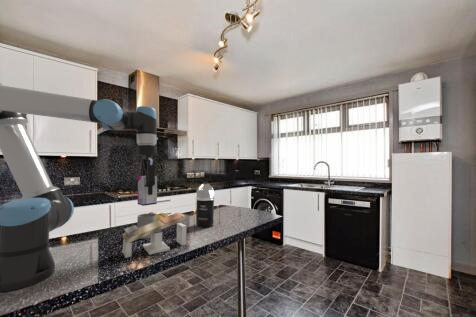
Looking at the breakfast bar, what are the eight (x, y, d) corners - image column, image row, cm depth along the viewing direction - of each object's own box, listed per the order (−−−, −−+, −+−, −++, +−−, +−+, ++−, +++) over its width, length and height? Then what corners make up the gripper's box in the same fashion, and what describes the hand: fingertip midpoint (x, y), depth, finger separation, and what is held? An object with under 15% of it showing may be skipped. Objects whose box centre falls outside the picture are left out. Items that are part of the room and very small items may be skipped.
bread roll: (168, 222, 133) (168, 209, 133) (174, 226, 125) (174, 211, 125) (146, 225, 125) (146, 211, 125) (151, 230, 117) (151, 214, 117)
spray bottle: (212, 228, 121) (213, 182, 122) (194, 228, 121) (194, 182, 122) (214, 223, 132) (215, 181, 132) (197, 223, 132) (198, 181, 132)
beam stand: (126, 259, 80) (127, 237, 81) (121, 251, 88) (122, 230, 89) (187, 245, 95) (188, 226, 95) (179, 239, 103) (179, 221, 103)
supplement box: (157, 203, 89) (157, 175, 90) (142, 206, 85) (142, 176, 85) (151, 202, 93) (151, 175, 94) (137, 204, 89) (136, 176, 89)
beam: (127, 245, 81) (125, 235, 81) (123, 239, 88) (121, 229, 88) (187, 220, 95) (185, 211, 95) (179, 216, 102) (177, 208, 102)
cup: (148, 239, 102) (149, 217, 103) (133, 238, 104) (133, 216, 104) (158, 233, 111) (159, 213, 111) (144, 232, 112) (144, 213, 113)
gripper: (163, 143, 84) (164, 204, 84) (150, 147, 100) (150, 197, 99) (142, 142, 80) (143, 206, 79) (132, 146, 95) (132, 199, 95)
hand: (147, 201), depth 89 cm, fingers closed on supplement box, 6 cm apart
